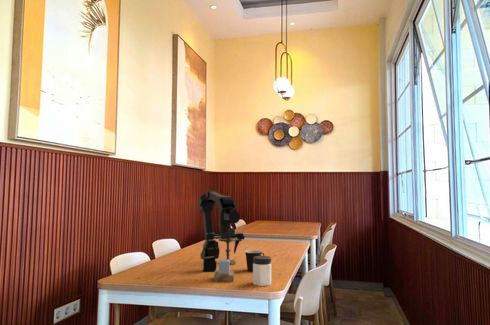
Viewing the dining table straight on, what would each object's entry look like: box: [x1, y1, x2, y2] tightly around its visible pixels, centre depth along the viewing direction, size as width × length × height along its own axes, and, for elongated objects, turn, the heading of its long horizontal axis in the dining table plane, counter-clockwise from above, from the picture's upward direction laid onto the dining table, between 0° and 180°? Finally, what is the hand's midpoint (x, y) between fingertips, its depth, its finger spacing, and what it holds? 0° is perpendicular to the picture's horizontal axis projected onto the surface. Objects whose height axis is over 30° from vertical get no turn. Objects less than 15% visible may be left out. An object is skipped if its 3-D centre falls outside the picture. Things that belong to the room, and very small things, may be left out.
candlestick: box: [218, 238, 236, 266], centre depth 210 cm, size 11×11×35 cm
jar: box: [252, 255, 272, 287], centre depth 164 cm, size 9×8×12 cm
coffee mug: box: [245, 249, 265, 273], centre depth 191 cm, size 12×9×10 cm
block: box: [218, 258, 231, 274], centre depth 172 cm, size 5×5×6 cm
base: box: [213, 270, 235, 283], centre depth 172 cm, size 9×9×3 cm
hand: (225, 253), depth 174 cm, fingers open, 9 cm apart
